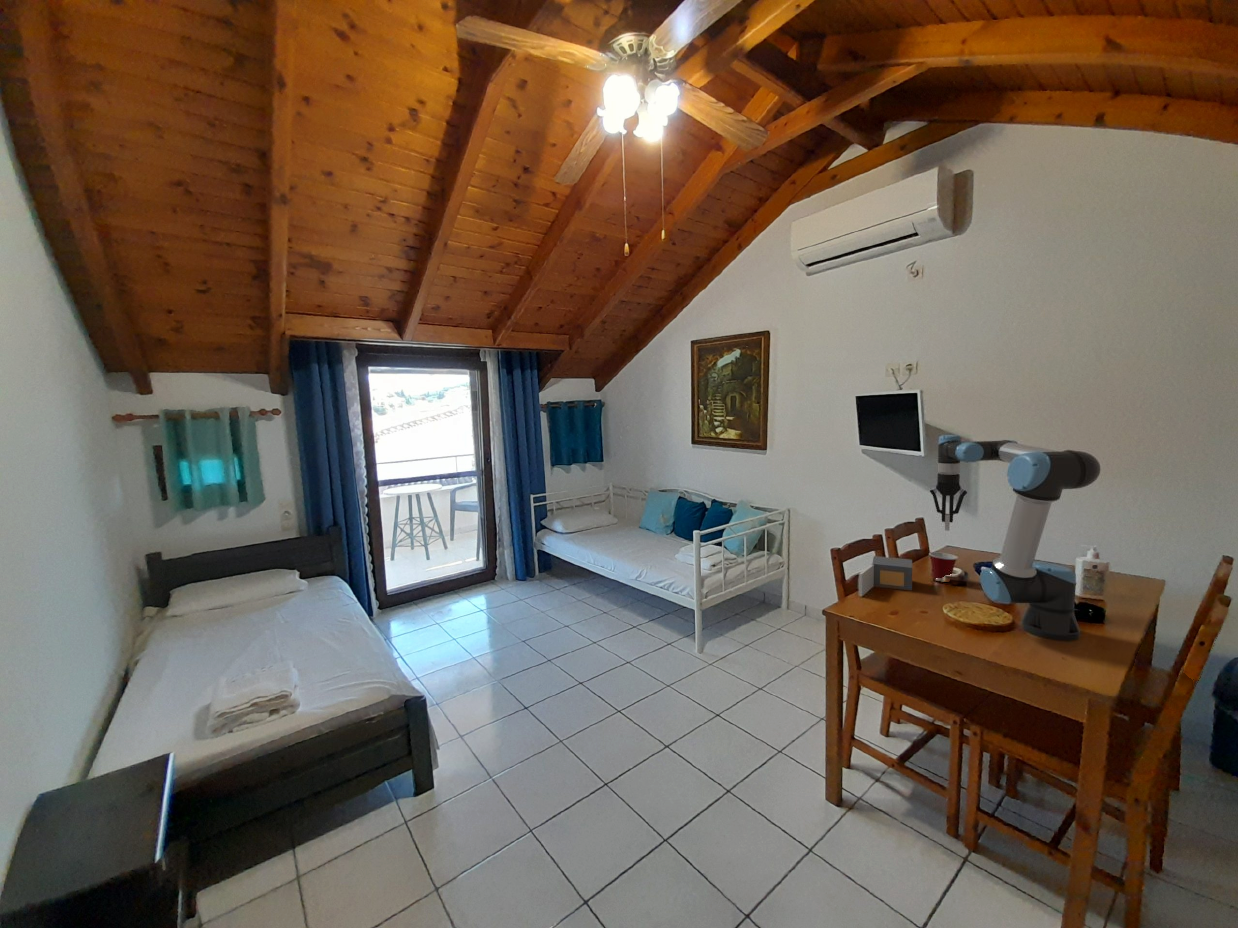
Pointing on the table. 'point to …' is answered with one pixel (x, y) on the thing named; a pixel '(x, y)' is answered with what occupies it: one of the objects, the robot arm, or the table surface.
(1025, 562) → the robot arm
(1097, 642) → the table surface
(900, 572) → the grey box with door
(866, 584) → the side door
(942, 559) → the plastic cup
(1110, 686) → the table surface
